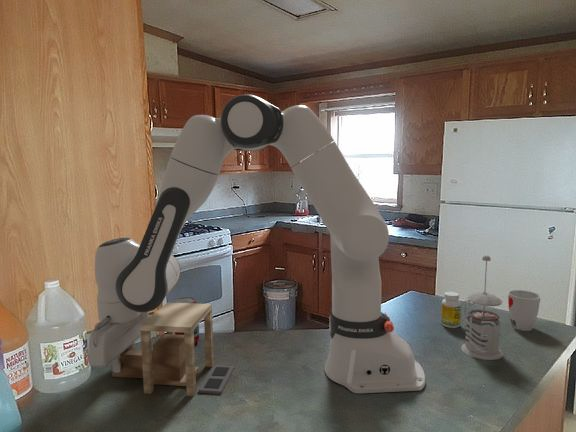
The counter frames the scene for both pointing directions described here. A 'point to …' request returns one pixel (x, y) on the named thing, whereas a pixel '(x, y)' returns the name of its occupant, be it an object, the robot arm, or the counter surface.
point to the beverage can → (196, 330)
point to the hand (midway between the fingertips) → (122, 366)
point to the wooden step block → (158, 361)
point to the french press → (477, 344)
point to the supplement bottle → (451, 310)
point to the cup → (523, 309)
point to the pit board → (216, 379)
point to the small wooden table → (172, 321)
